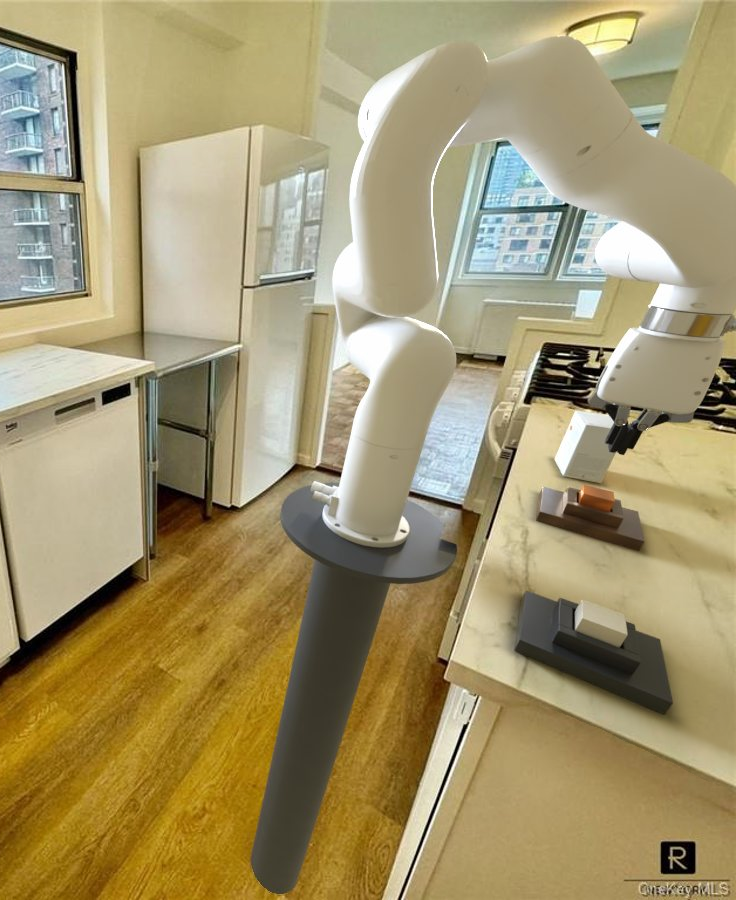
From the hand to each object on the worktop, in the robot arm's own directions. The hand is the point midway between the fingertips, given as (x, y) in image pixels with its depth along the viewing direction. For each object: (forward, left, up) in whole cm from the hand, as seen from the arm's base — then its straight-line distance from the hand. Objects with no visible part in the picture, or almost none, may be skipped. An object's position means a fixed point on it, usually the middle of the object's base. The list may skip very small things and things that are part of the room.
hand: (615, 450), depth 70 cm
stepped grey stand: (0, -32, -13) cm, 35 cm away
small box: (0, +21, -13) cm, 24 cm away
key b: (+1, +1, -9) cm, 9 cm away
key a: (0, -32, -9) cm, 34 cm away
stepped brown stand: (+1, +1, -13) cm, 13 cm away
